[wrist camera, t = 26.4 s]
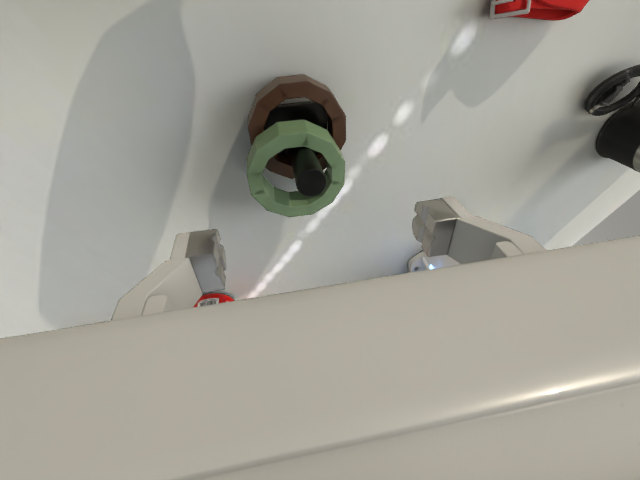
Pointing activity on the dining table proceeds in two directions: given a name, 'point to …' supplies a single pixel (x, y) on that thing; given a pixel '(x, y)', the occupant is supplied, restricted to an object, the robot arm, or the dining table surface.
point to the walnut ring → (288, 90)
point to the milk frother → (618, 118)
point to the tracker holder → (536, 8)
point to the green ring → (291, 137)
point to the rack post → (302, 158)
